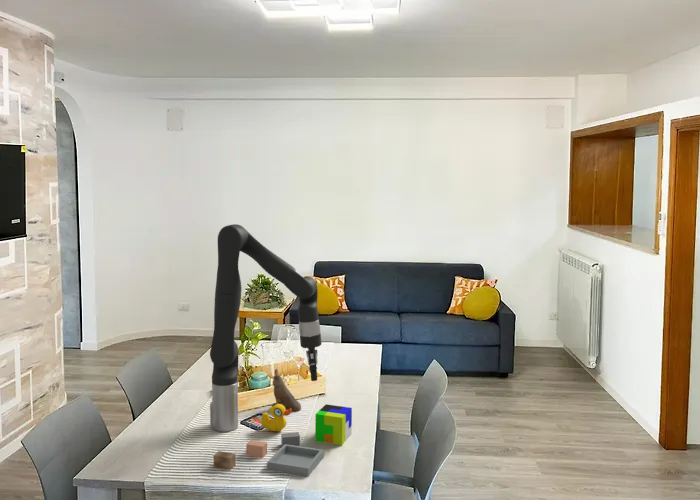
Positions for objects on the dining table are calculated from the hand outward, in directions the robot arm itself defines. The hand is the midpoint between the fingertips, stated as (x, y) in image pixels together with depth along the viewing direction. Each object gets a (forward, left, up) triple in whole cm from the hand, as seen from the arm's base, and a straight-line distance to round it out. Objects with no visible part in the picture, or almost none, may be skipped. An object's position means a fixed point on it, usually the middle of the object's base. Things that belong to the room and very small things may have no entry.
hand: (314, 377), depth 226 cm
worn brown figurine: (-19, +18, -21) cm, 34 cm away
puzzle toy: (+8, -2, -21) cm, 23 cm away
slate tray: (+3, -25, -21) cm, 32 cm away
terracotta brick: (-12, -23, -21) cm, 33 cm away
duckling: (-14, -3, -21) cm, 25 cm away
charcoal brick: (-4, -13, -21) cm, 25 cm away
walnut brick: (-18, -34, -21) cm, 44 cm away
